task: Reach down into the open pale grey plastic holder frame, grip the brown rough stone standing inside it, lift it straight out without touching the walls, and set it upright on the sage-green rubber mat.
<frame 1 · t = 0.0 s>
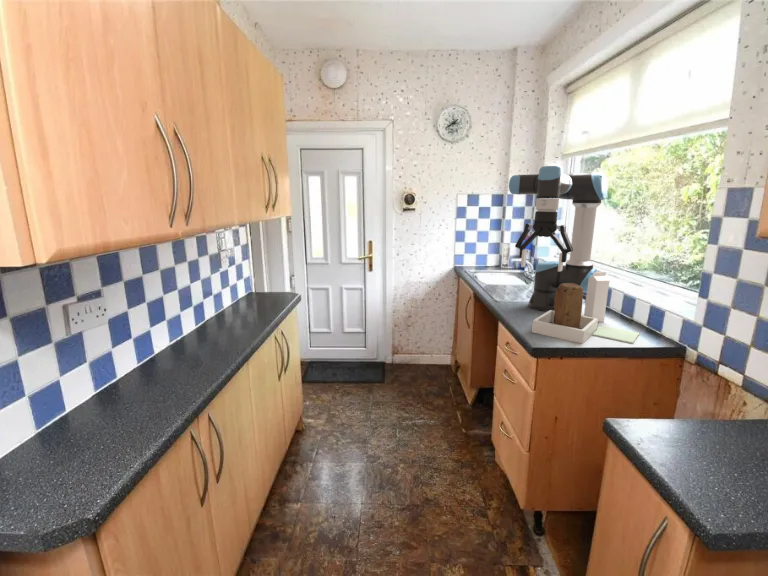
hand: (541, 268, 145), 28 cm above the countertop, tool pointing down, fingers open, 13 cm apart
milk: (593, 320, 176), on the countertop
brown rough stone: (564, 331, 161), resting in holder
holder: (564, 331, 161), on the countertop
mat: (615, 334, 157), on the countertop
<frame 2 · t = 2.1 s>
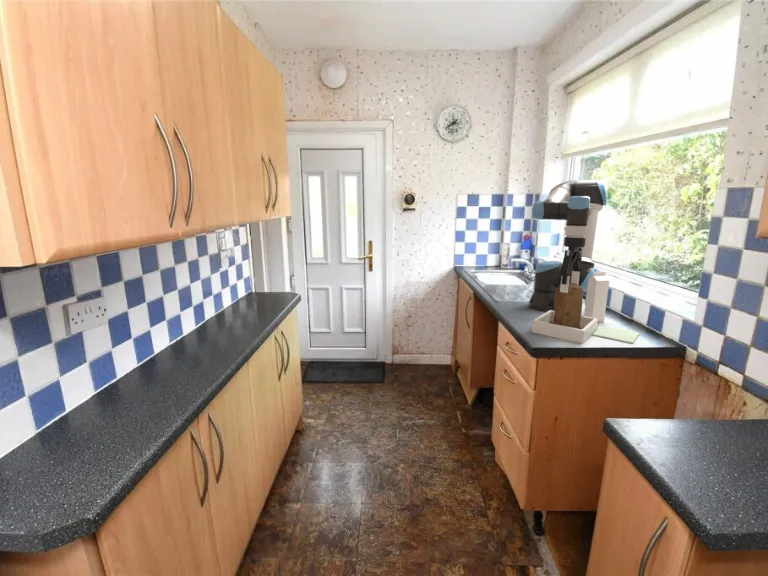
hand: (569, 289, 157), 18 cm above the countertop, tool pointing down, fingers open, 13 cm apart
nothing on the countertop moved.
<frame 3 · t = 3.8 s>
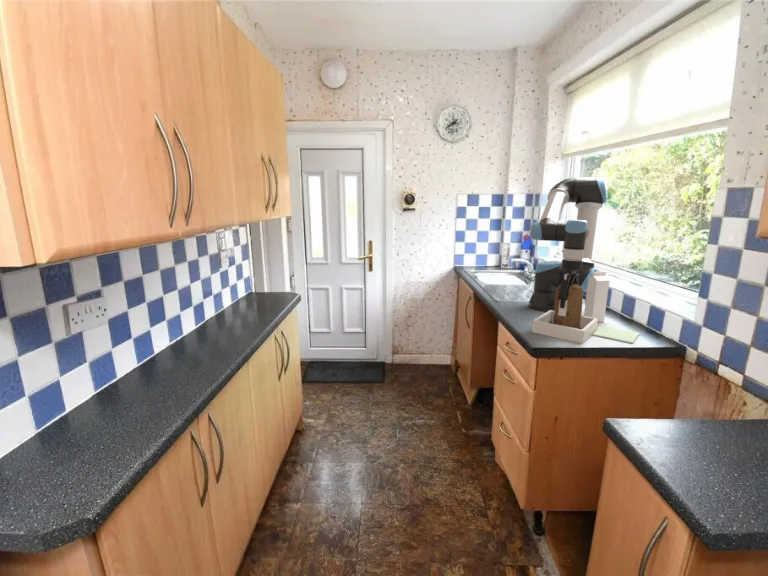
hand: (566, 312, 159), 8 cm above the countertop, tool pointing down, fingers closed on brown rough stone, 11 cm apart
brown rough stone: (564, 331, 161), resting in holder, touching gripper
everything else where it was.
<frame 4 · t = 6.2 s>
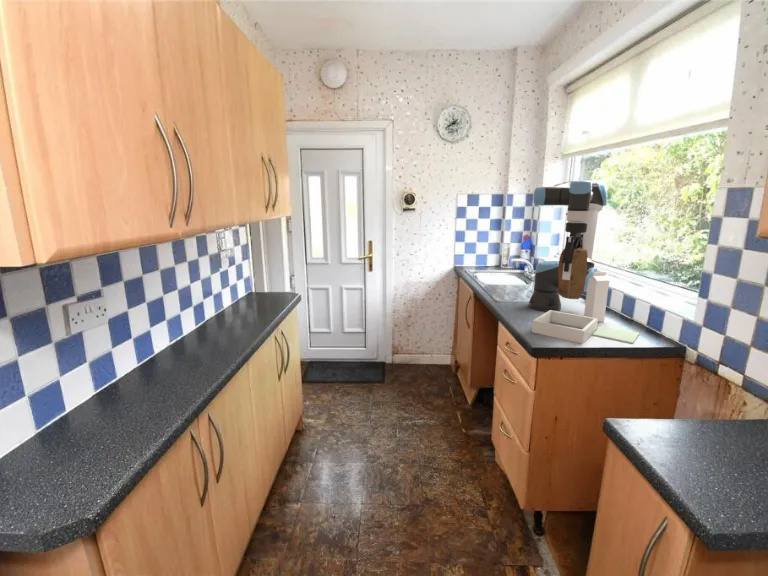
hand: (570, 277, 156), 23 cm above the countertop, tool pointing down, fingers closed on brown rough stone, 11 cm apart
brown rough stone: (568, 297, 158), point 14 cm above the countertop, touching gripper
everything else where it was.
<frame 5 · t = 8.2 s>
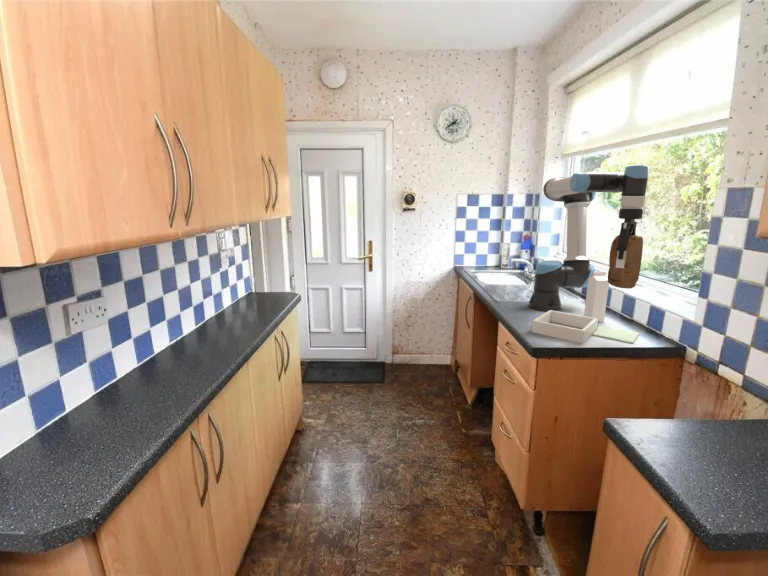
hand: (623, 266, 150), 28 cm above the countertop, tool pointing down, fingers closed on brown rough stone, 11 cm apart
brown rough stone: (620, 286, 152), point 20 cm above the countertop, touching gripper
everything else where it was.
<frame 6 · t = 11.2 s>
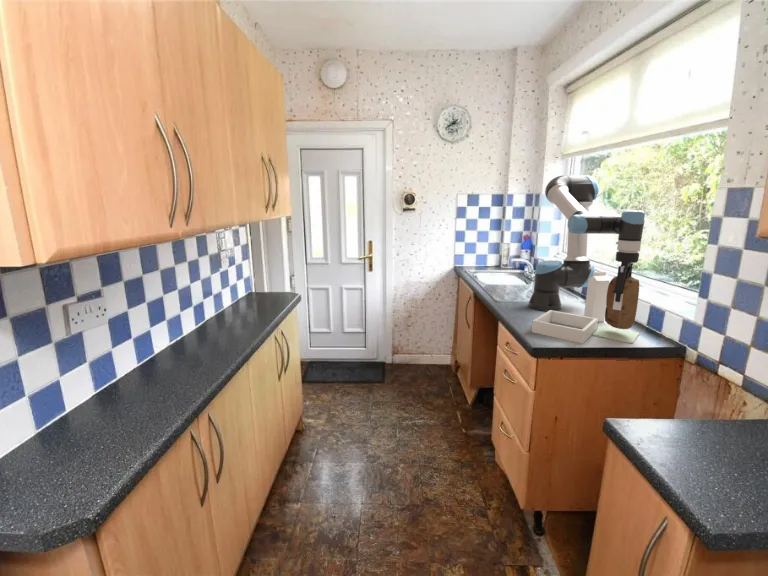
hand: (620, 306, 154), 12 cm above the countertop, tool pointing down, fingers closed on brown rough stone, 11 cm apart
brown rough stone: (617, 326, 156), point 4 cm above the countertop, touching gripper
everything else where it was.
when the fingers open (10 cm above the countertop, at t = 12.8 s): brown rough stone drops 1 cm, resting on mat.
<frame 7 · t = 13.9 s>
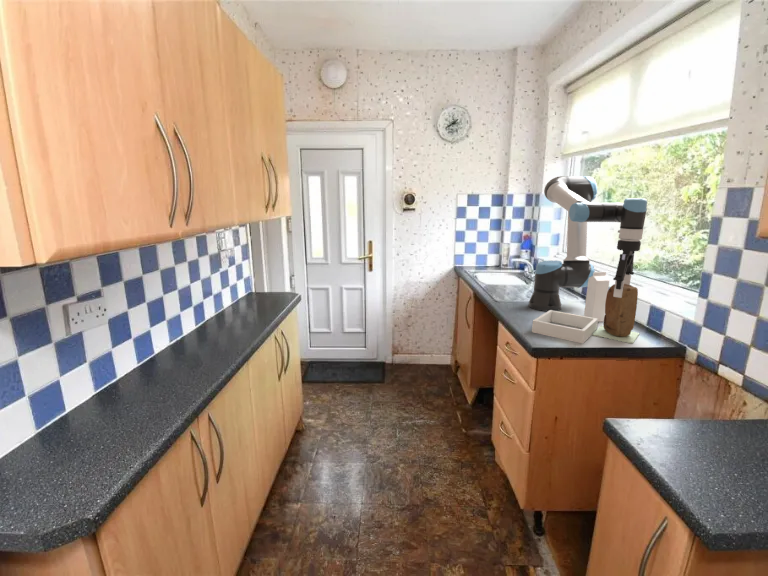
hand: (621, 293, 153), 17 cm above the countertop, tool pointing down, fingers open, 13 cm apart
brown rough stone: (615, 333, 157), resting on mat
everything else where it was.
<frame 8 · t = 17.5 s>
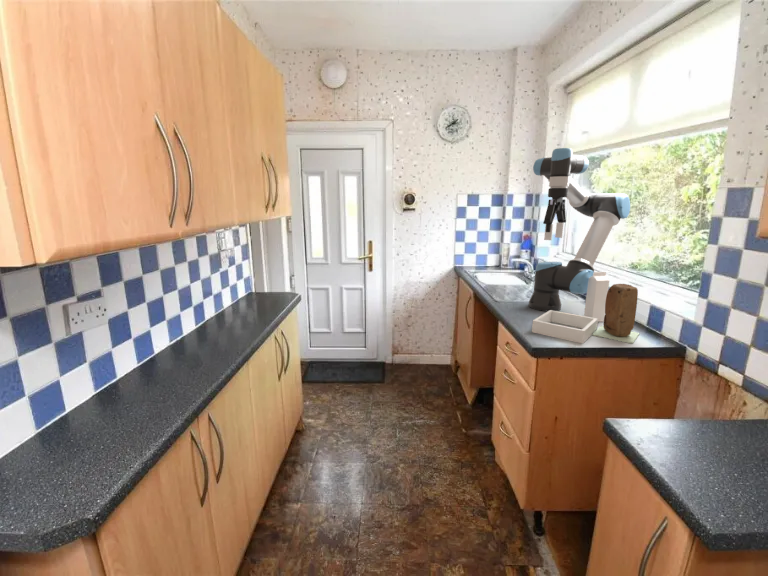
hand: (553, 238, 166), 37 cm above the countertop, tool pointing down, fingers open, 13 cm apart
nothing on the countertop moved.
at the end: brown rough stone inside the target area on the mat (0.2 cm from its centre), point 0.4 cm above the mat's base; brown rough stone tilted 0°; the gripper is holding nothing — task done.
